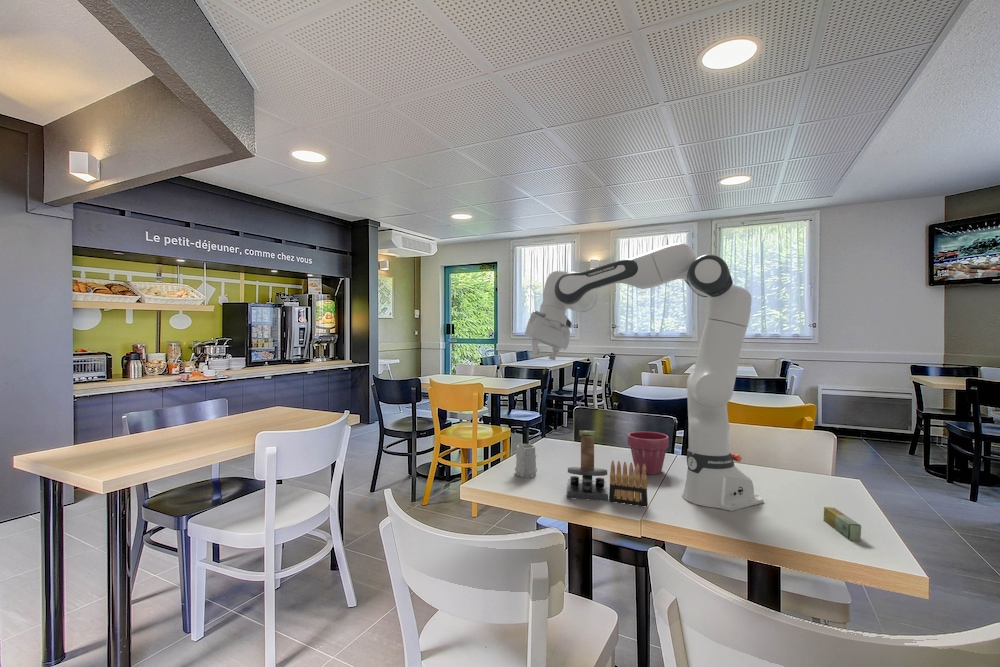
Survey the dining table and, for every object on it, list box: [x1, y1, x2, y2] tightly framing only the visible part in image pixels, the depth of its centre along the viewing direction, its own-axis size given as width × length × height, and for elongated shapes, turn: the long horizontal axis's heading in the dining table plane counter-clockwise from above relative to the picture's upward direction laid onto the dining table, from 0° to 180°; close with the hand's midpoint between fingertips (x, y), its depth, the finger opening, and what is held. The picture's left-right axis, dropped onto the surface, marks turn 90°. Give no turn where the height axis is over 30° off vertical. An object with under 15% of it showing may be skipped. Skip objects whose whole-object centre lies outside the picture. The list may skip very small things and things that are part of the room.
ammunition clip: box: [608, 460, 649, 508], centre depth 131 cm, size 11×2×12 cm, turn 68°
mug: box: [514, 443, 538, 478], centre depth 156 cm, size 8×12×12 cm, turn 163°
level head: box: [567, 430, 608, 477], centre depth 141 cm, size 12×12×13 cm
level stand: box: [566, 475, 609, 502], centre depth 140 cm, size 12×12×5 cm
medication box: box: [823, 506, 862, 542], centre depth 114 cm, size 12×3×4 cm, turn 170°
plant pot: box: [627, 431, 670, 475], centre depth 164 cm, size 14×14×13 cm
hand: (543, 356), depth 154 cm, fingers open, 8 cm apart
